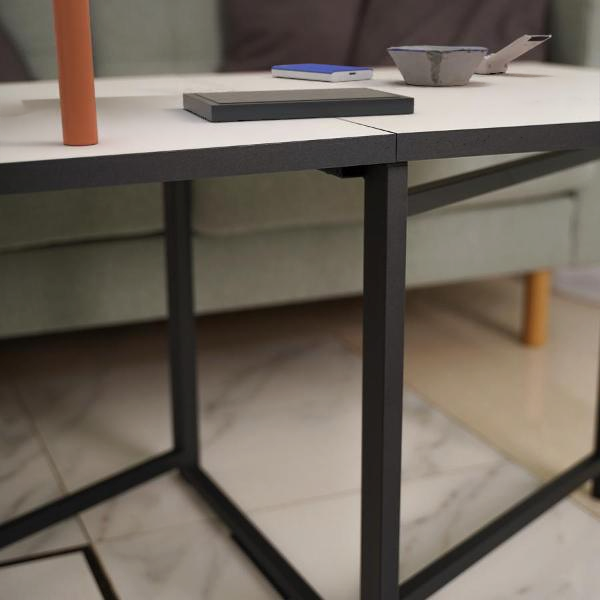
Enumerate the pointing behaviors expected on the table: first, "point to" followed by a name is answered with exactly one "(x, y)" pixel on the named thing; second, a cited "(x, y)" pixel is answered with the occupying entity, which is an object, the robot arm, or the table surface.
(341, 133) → the table surface
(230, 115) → the tablet
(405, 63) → the bowl
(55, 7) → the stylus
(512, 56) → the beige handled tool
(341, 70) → the hard drive
